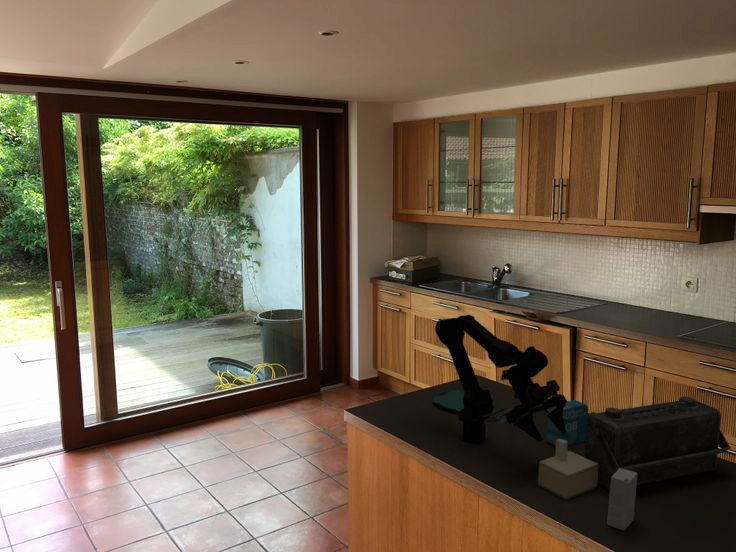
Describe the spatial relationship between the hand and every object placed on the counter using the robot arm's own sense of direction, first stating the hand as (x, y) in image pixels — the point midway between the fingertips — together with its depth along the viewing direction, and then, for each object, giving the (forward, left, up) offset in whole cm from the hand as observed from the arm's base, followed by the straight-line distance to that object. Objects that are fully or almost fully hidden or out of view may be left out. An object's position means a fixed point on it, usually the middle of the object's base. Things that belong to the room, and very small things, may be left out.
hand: (553, 437), depth 162 cm
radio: (+26, +11, -12) cm, 31 cm away
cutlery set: (-28, +44, -12) cm, 54 cm away
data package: (+3, +26, -12) cm, 28 cm away
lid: (+4, -3, -5) cm, 8 cm away
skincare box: (+16, -17, -12) cm, 26 cm away
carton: (+4, -3, -11) cm, 13 cm away
